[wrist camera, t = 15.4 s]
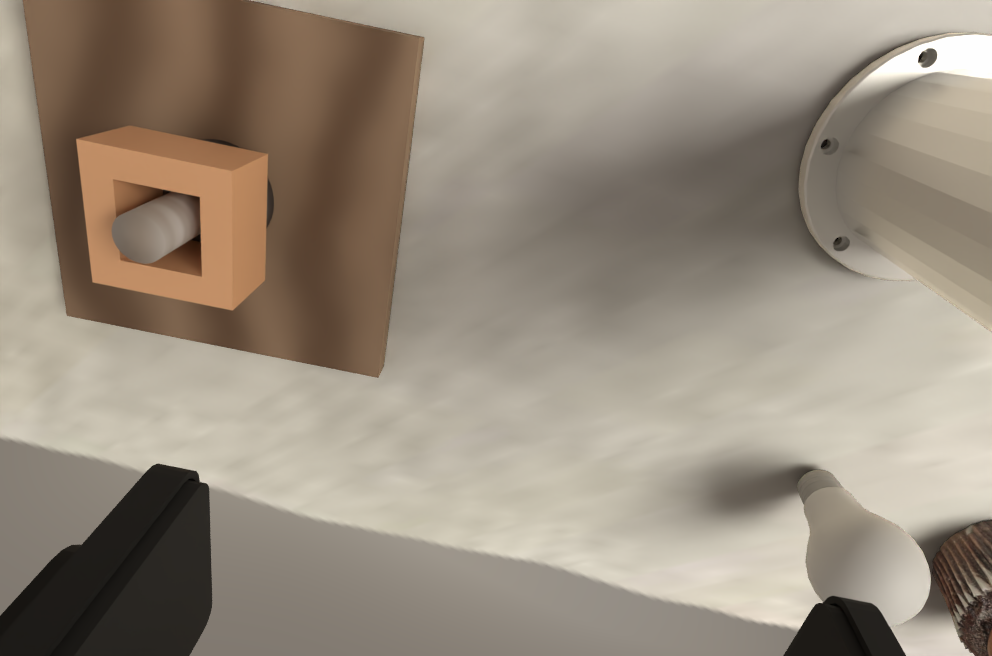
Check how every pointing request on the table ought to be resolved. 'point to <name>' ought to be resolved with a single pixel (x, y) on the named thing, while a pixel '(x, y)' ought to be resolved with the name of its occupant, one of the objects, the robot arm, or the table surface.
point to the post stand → (248, 125)
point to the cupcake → (968, 584)
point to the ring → (189, 170)
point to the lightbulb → (860, 552)
